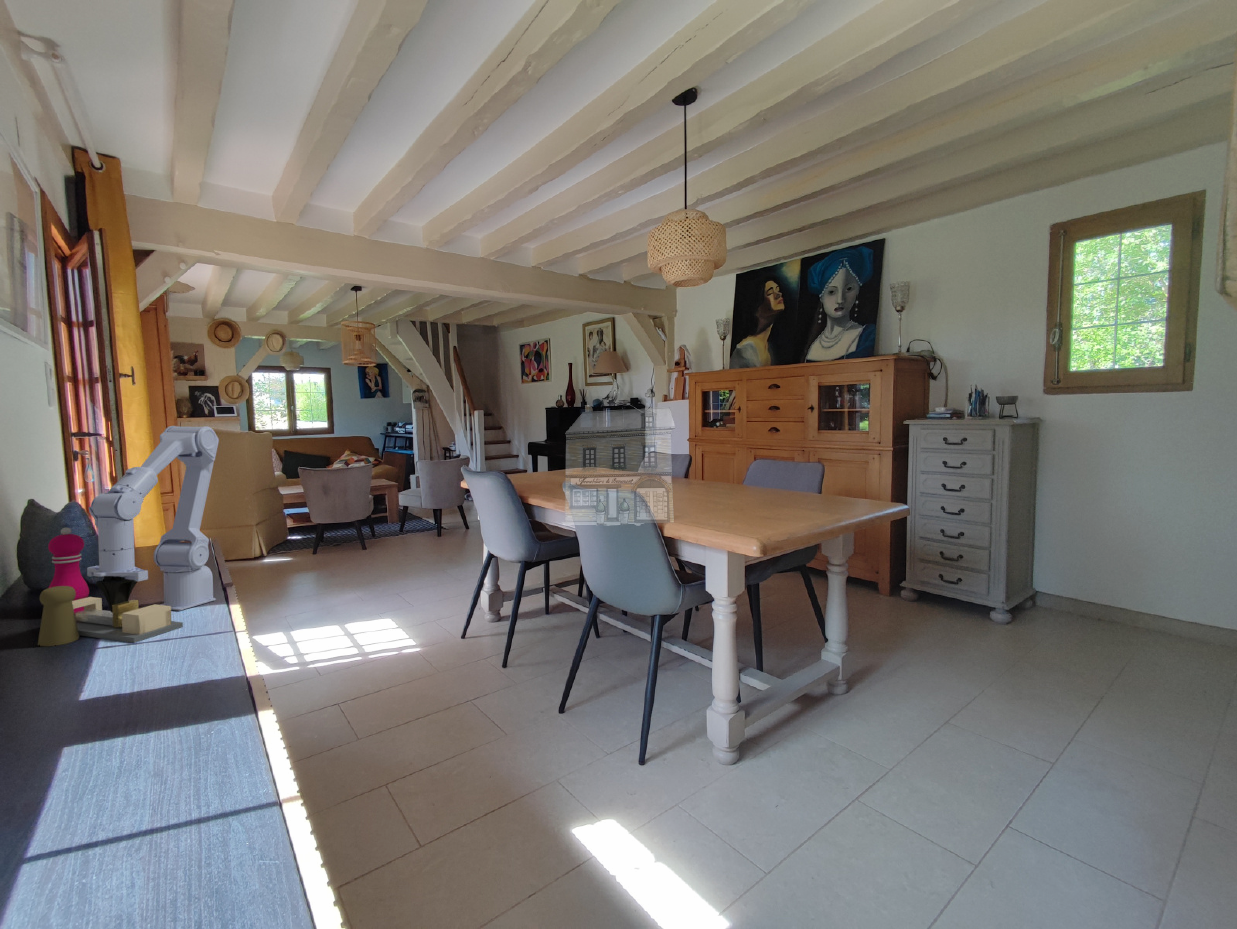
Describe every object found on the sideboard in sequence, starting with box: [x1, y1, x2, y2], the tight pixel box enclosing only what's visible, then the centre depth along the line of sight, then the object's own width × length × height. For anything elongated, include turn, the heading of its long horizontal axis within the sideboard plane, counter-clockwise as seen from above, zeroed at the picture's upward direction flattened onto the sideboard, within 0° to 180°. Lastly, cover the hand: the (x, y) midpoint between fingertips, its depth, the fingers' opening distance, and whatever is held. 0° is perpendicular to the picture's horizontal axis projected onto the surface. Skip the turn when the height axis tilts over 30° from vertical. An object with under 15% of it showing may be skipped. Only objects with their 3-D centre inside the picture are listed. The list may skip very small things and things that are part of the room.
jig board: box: [72, 596, 184, 643], centre depth 123 cm, size 10×25×5 cm, turn 76°
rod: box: [75, 599, 139, 628], centre depth 123 cm, size 4×17×5 cm, turn 76°
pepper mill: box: [47, 527, 90, 614], centre depth 133 cm, size 7×7×20 cm
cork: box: [37, 586, 80, 647], centre depth 116 cm, size 6×6×11 cm
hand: (118, 611), depth 123 cm, fingers closed
